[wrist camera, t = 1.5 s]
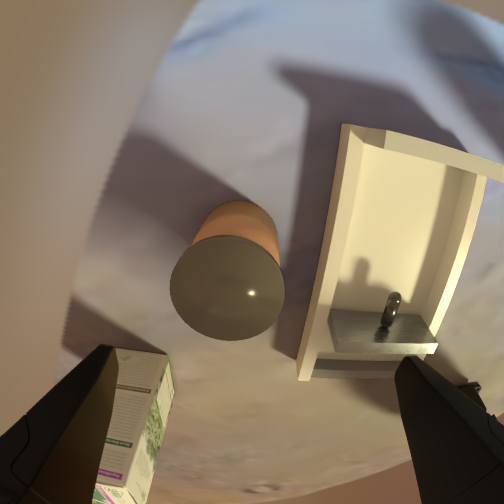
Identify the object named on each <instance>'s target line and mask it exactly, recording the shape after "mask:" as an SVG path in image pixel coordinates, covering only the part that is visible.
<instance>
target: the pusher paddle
mask: <svg viewBox="0 0 504 504" xmlns="http://www.w3.org/2000/svg"><path fill="white" fill-rule="evenodd" d="M401 299H402V297H401V294H400V293H399V292H396V291H394V292H392V293H390V295H389V297H388V300H387V303H386V306H385V309H384V311H383V313H382V312H367V311H353V310H340V309H330V312H329V315H328V319H327V322H328V326H329V330H330V334H331V338H332V342H333V346H334V351H335V352H342V353H370V354H434V352H435V349H436V347H437V345H438V342H437V341H436V339H435V337H434V336H433V334H432V333H431V331H430V329H429V328H428V326H427V325H426V323H425V322H424V320H423V318H422V317H421V315H416V314H398V313H397V311H398V308H399V305H400V303H401Z"/></svg>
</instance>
